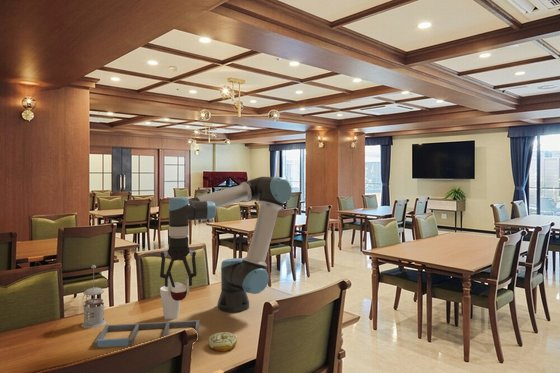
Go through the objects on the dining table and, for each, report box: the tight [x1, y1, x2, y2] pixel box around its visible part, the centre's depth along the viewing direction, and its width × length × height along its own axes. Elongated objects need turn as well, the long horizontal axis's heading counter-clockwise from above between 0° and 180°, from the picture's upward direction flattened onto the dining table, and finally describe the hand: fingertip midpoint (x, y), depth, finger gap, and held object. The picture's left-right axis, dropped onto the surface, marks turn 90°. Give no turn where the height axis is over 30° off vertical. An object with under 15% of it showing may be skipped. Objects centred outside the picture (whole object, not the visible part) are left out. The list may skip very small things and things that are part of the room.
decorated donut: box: [208, 331, 238, 352], centre depth 149 cm, size 10×11×4 cm
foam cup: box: [159, 284, 182, 320], centre depth 178 cm, size 10×9×13 cm
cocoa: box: [168, 271, 187, 302], centre depth 158 cm, size 10×6×12 cm, turn 120°
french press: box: [81, 264, 107, 329], centre depth 169 cm, size 10×12×25 cm
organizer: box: [93, 319, 200, 349], centre depth 157 cm, size 37×17×2 cm, turn 99°
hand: (178, 294), depth 158 cm, fingers closed on cocoa, 7 cm apart
